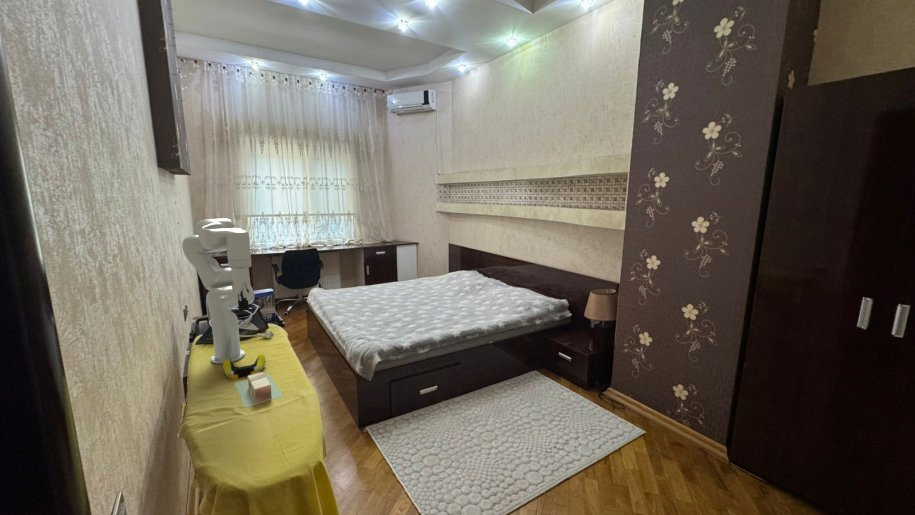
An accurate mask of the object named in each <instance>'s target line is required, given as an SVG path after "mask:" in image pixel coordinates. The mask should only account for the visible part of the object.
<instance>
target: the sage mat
mask: <svg viewBox="0 0 915 515" xmlns="http://www.w3.org/2000/svg"><path fill="white" fill-rule="evenodd" d="M264 375H265V376H266V378H267V380H268V381H269V383H270V385H271V395H272V398H270V399H267V400H263V401H260V402H257V403H256V402H255V400H254V398H253V396H252V394H251V392H250V390H249V387H248V379H246V380H241V381H238V382H235V383H234V386H235V389H236V390H237V393H238V396H239V397H240V399H241V401H242V404H243V407H244V408H245V409H246V408H249V407H252V406H256V405H258V404H261V403H264V402H268V401H272V400H275V399H278V398H280V397H283V393H282V391H281V390H280V389H279V387H278V386H277V384H276V382H275V381H274V380H273V377H271V375H270V374H269V373H268V374H264Z"/></svg>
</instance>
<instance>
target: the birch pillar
mask: <svg viewBox="0 0 915 515" xmlns="http://www.w3.org/2000/svg"><path fill="white" fill-rule="evenodd" d="M265 375H266V374H265V373H264V372H263V371H261V372H260V373H256V374H252V375H248V376H247V380H248V387H249V390H250V392H251V394H252V396H253V398H254V400H255V402H256V403H257V402H260V401H263V400H267V399H270V398H272V395H271V385H270V383H269V381H268V380H267V378H266V376H265Z"/></svg>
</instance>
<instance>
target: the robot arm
mask: <svg viewBox="0 0 915 515" xmlns="http://www.w3.org/2000/svg"><path fill="white" fill-rule="evenodd" d="M194 232H195V234H194V235H189V236H187V237H185V238H184V239H183V240H182V244H181V245H182V251H183V254H184V256H185V258H186V260H188V262H189V263H190V264H191V265H192V266H193V267H194V268H195V270H196V272H197V274H198V276H199V278H200V280H201V283H202V285H203V286H204V288H205V289H206V290H207V291H208V292H207V293H206V296H205V298H206V304H207V308H208V310H209V313H210V319H211V320H210V322H211V330H212V339H213V349H214V354H213V355H211V357H210V361H211V363H213V364H216V365H220V364H222V365H223V364H224V362H225V360H228V359H229V360H230V361H231V362H232V363H234V362H236V361H239V360H241V359H243V358H244V357H245V354H246V353H245V350H243V349H241V345H240V344H241V342H240V341H241V340H240V332H239V329H240V328H239V320H238V316H237V314H235V312H233V311H232V310H231V309H234V308H238V311H240V312H243V311H248V310H249V309H250V307H249V306H250V304H252V303H253V302H254V300H255V292H254V289H253V287H252V285H251V278H250V268H251V267H252V257H251V256H252V255H251V244H250V242H251V241H250V234H249V231H248V230H244V229H242V228H241V227H240V228H239V227H236V226H235V223H234V222H233V221H232V220H231V219H230V218H206V219H201V220H199V221H198V222H197V223H195V225H194ZM225 251H226V253H227V254H226V256H227V265H228V266H227V267H221V266H220V264H219V262H218V261H217V260H216V259H215V258H213V256H210V255H208V254H211V253H219V252H220V253H221V252H225Z"/></svg>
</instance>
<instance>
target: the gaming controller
mask: <svg viewBox="0 0 915 515" xmlns="http://www.w3.org/2000/svg"><path fill="white" fill-rule="evenodd" d="M265 365H266V356H265V355H264V354H262V353H260V354H258V356H257V357H256V359H255V361H254V363H253V364H251V365H250V364H249V365H244V366H235V364H234V362H231V361H230V360H229V359H228V360H225V362H224V364H222V370H223V373H224V375H225V376H226V377H227V378H229V379H230V380H231V379H232V380H237V379H242V378H246V377H247V378H248V375H252V374H256V373H260V372H263V370H264V367H265Z"/></svg>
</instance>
